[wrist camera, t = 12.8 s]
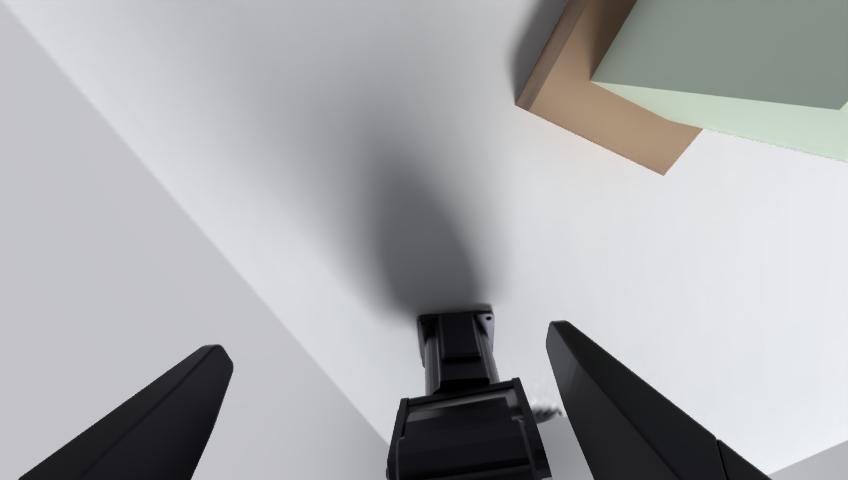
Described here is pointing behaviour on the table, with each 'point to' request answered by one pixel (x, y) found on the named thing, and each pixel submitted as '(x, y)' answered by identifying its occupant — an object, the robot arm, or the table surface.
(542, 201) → the table surface
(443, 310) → the table surface
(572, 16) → the walnut block
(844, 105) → the tea tin
